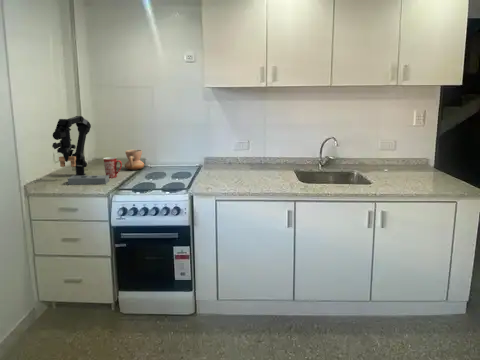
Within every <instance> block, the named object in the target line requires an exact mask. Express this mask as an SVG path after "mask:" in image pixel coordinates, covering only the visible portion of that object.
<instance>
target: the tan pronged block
mask: <svg viewBox="0 0 480 360" xmlns="http://www.w3.org/2000/svg"><path fill="white" fill-rule="evenodd" d="M75 160H76V156H69V159H68V162H70V167H72V168H75V166H76V162H75ZM58 161H59V165H60V166H59V167H60V168H63V167H66V161H65V158H64V156H63V155H62V156H58Z"/></svg>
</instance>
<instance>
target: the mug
mask: <svg viewBox="0 0 480 360" xmlns="http://www.w3.org/2000/svg"><path fill="white" fill-rule="evenodd" d="M102 159H103V166H104V172H105V175H109V179H115V178H117V177H118V174H119V172H120V171H121V169H122V166H123V164H122V163H123V162H122V161H121V160H117V156H108V157H107V156H106V157H103V158H102ZM118 163H119V164H120V167H119V168H117V167H118V166H117V164H118ZM117 169H118V170H117Z"/></svg>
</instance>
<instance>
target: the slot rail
mask: <svg viewBox="0 0 480 360" xmlns="http://www.w3.org/2000/svg"><path fill="white" fill-rule="evenodd" d="M109 182H110V178H109V175H106V174H104V175H99V174H98V175H94V174H93V175H92V174H91V175H84V176H74V175H70V176H69V177H68V178H67V185H69V186H71V185H74V186H79V185H80V186H81V185H89V186H90V185H107V184H108V183H109Z"/></svg>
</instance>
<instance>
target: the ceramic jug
mask: <svg viewBox="0 0 480 360" xmlns="http://www.w3.org/2000/svg"><path fill="white" fill-rule="evenodd" d="M124 152H125V155H126V158H127V161H126V162H125V163H124V168H125V169H127V170H130V171H131V170H132V171H138V170H141V169H143V168H145V163H144V162H143V161H142V160H141V158H142V155H143V149H127V150H125V151H124Z"/></svg>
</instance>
